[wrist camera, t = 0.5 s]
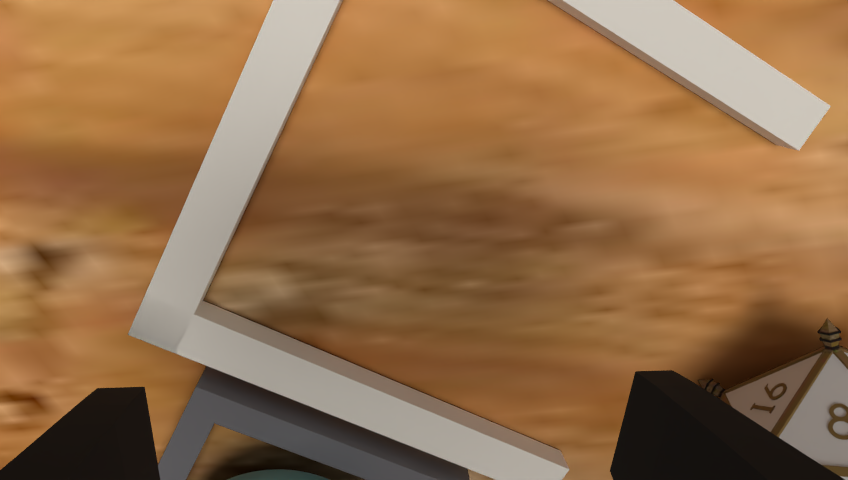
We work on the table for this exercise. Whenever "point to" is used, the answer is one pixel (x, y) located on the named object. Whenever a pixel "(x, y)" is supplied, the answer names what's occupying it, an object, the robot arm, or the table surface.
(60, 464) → the robot arm
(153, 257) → the table surface
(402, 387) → the frame
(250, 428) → the grey square frame
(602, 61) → the table surface
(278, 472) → the dome
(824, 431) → the game die
